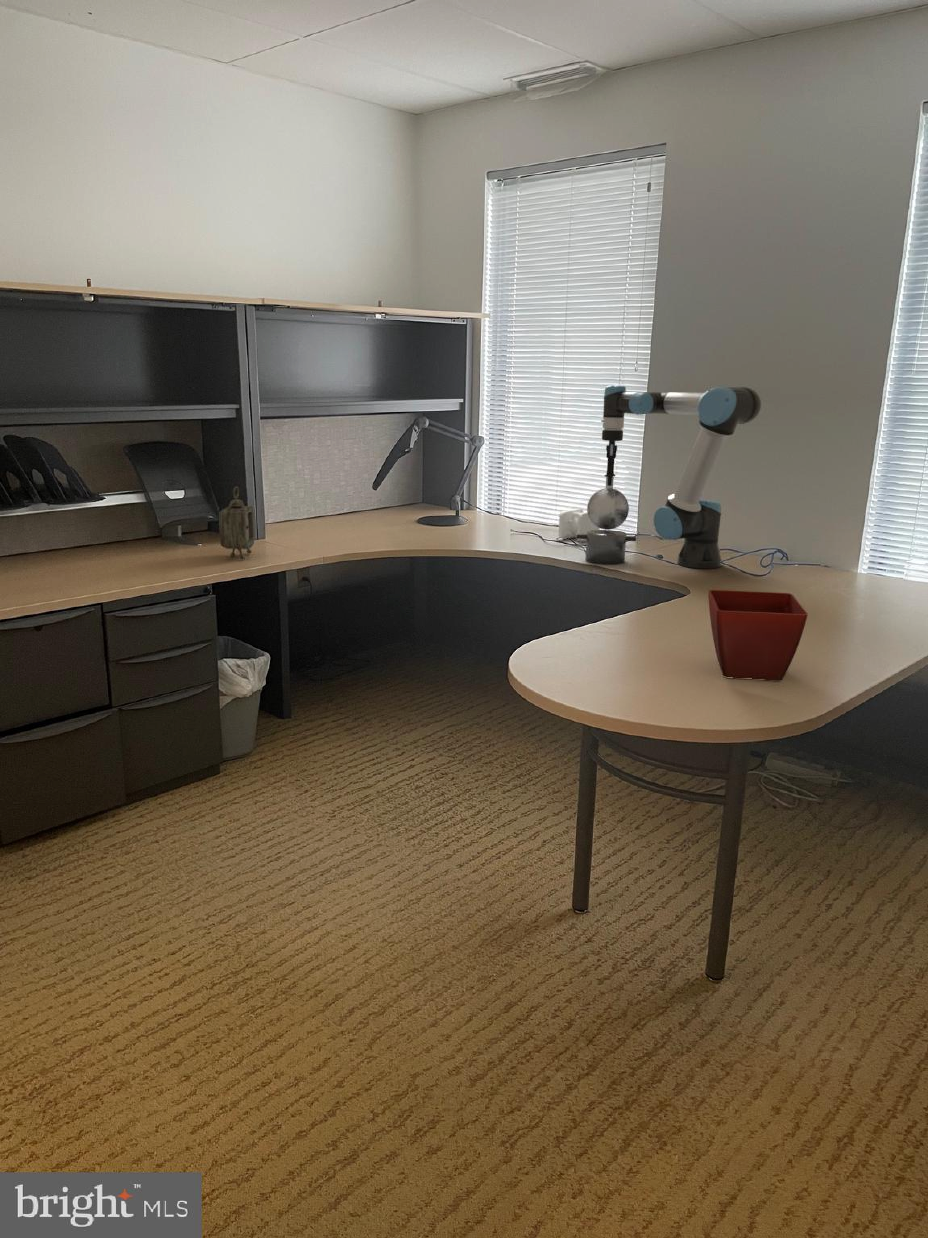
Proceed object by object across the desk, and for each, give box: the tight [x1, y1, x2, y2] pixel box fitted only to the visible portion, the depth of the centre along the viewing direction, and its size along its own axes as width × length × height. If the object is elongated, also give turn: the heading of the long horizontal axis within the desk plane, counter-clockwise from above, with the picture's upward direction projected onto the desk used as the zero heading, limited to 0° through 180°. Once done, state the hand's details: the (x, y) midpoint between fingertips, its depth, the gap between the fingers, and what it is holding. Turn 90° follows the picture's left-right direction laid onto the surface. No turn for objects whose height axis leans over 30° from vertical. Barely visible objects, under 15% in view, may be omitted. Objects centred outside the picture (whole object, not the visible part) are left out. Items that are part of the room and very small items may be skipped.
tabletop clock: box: [218, 486, 255, 560], centre depth 316 cm, size 14×9×25 cm, turn 0°
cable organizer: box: [558, 508, 601, 543], centre depth 363 cm, size 15×11×12 cm
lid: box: [586, 487, 630, 530], centre depth 329 cm, size 15×15×3 cm
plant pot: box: [708, 589, 809, 682], centre depth 205 cm, size 19×19×17 cm
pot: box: [576, 529, 637, 566], centre depth 323 cm, size 19×14×10 cm
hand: (608, 494), depth 333 cm, fingers closed
